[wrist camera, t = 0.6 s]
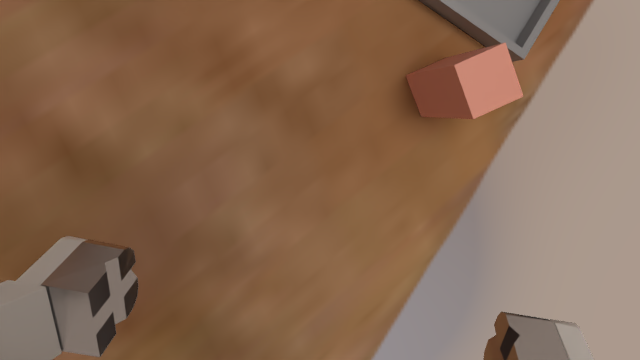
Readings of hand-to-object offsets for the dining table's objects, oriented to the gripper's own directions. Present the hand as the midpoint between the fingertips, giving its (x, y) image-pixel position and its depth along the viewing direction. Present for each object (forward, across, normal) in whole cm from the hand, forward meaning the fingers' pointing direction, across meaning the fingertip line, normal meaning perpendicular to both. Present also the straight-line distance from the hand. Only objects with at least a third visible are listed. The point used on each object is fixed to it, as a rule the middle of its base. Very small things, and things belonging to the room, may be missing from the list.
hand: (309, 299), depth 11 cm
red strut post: (+42, -7, +8) cm, 43 cm away
